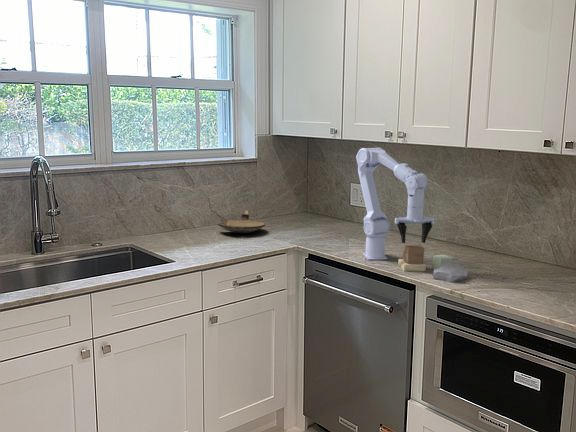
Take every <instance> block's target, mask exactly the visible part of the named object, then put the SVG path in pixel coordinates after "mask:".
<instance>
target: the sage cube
mask: <svg viewBox="0 0 576 432" xmlns="http://www.w3.org/2000/svg"><path fill="white" fill-rule="evenodd" d="M445 263H452V264H453V257H451V256H449V255H446V254H437V255H433V256H432V269H433V270H434V269H438V268H439V267H440V266H441V265H443V264H445Z"/></svg>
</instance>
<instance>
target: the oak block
mask: <svg viewBox="0 0 576 432" xmlns="http://www.w3.org/2000/svg"><path fill="white" fill-rule="evenodd" d="M397 262H398V264H397V265H398V267H399V268H400V269H401V270H402V271H404V272H426V268H427V267H426V266H427V265H426V263H425V262H423V264H407V263H406V262H405V261H404V260H403V258H398V261H397Z"/></svg>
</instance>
